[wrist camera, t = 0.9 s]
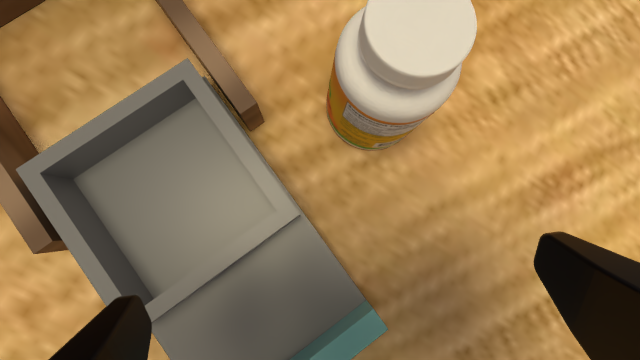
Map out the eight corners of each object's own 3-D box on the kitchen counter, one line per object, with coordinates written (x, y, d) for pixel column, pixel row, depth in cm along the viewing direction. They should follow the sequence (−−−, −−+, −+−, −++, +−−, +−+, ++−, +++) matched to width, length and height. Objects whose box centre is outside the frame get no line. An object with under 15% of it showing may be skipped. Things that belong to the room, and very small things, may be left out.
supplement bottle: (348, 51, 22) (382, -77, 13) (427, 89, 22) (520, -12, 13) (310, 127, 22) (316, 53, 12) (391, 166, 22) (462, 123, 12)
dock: (264, 121, 22) (241, 63, 14) (79, 248, 20) (-64, 265, 12) (125, -69, 23) (29, -226, 15) (-60, 40, 21) (-275, -68, 13)
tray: (376, 313, 20) (390, 332, 17) (228, 429, 19) (212, 474, 16) (209, 82, 22) (190, 55, 18) (60, 180, 20) (11, 171, 17)
